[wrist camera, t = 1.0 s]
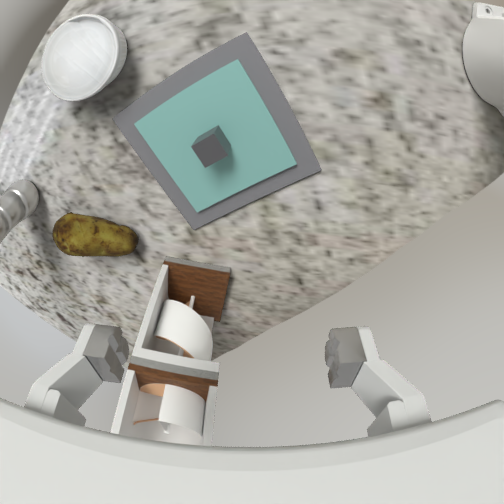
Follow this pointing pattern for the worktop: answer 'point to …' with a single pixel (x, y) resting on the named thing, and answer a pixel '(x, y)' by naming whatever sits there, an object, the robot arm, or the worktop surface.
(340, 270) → the worktop surface
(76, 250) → the potato
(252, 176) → the lid
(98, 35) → the ramekin
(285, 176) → the mat
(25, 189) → the plastic bottle
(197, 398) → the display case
